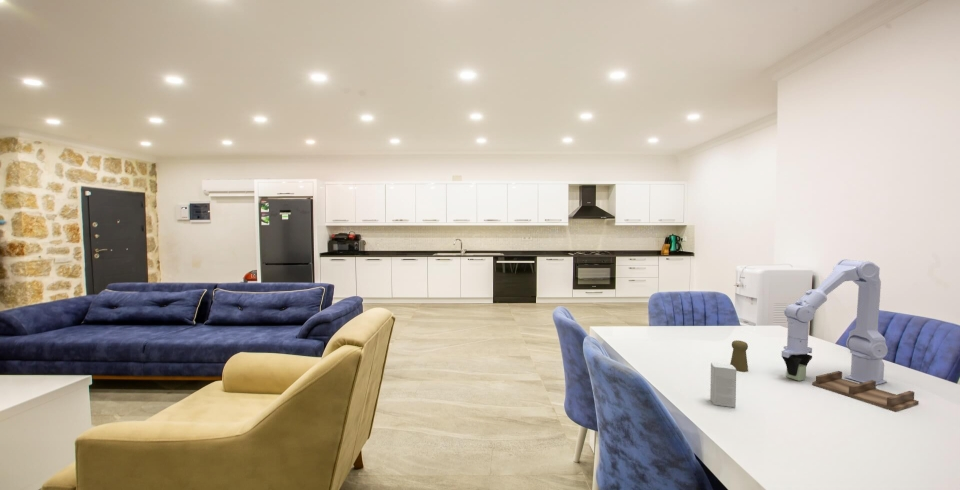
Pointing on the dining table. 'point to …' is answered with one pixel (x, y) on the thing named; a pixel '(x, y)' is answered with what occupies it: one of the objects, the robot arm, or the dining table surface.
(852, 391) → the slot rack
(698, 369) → the dining table surface
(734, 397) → the skincare box
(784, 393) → the dining table surface
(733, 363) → the cork
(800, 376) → the sage block
